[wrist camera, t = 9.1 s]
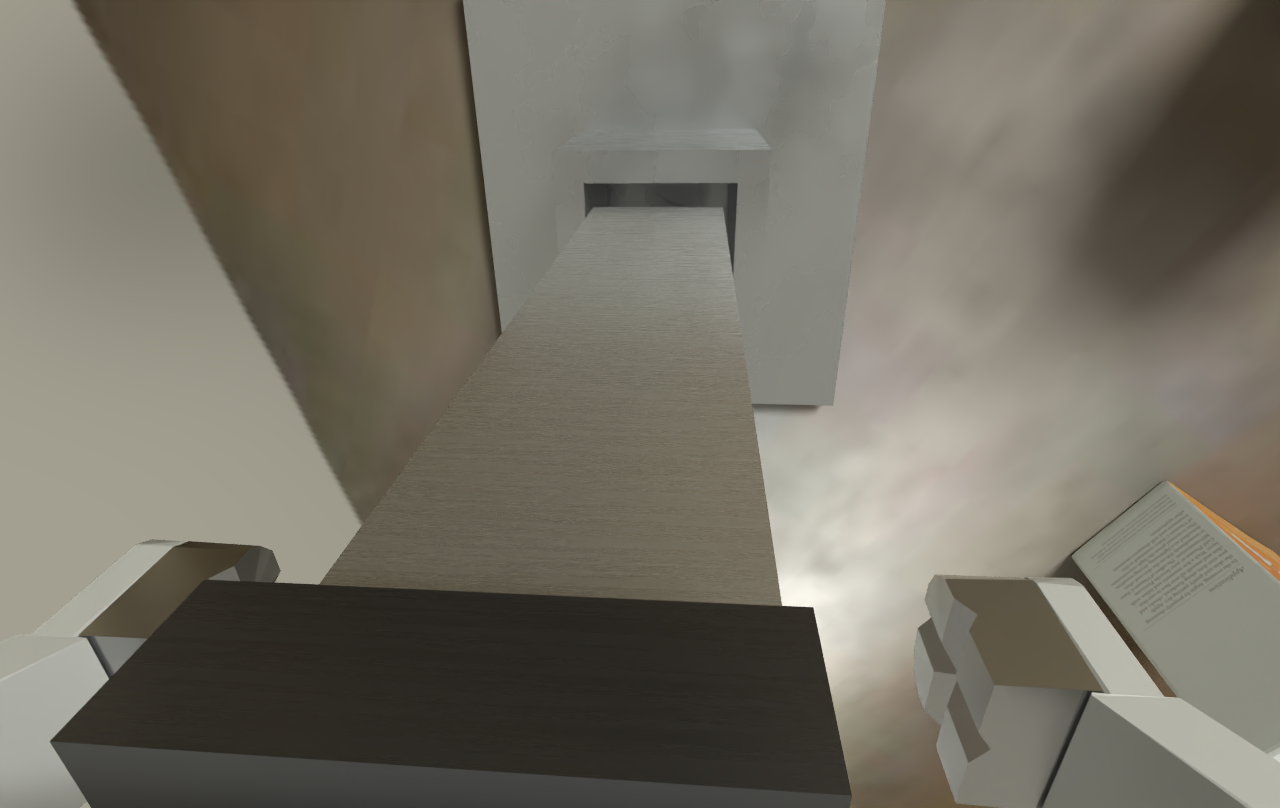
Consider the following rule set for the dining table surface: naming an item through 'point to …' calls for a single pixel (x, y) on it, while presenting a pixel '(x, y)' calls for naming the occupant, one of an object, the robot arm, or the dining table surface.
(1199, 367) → the dining table surface
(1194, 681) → the small box
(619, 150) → the stand base
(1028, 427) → the dining table surface
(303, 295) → the dining table surface
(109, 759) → the column
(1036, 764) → the robot arm
